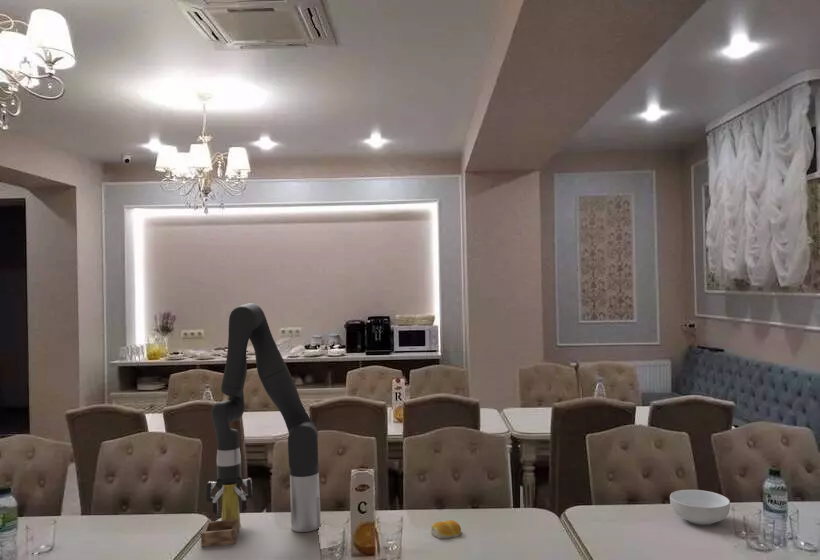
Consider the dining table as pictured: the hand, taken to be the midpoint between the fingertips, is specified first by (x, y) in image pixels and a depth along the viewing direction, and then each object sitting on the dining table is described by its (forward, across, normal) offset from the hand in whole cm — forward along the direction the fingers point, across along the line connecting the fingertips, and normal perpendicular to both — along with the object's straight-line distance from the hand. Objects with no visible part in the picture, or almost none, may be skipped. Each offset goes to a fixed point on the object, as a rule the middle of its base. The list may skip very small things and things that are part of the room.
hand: (230, 512), depth 206 cm
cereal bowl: (+5, -144, +35) cm, 149 cm away
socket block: (+5, +2, +10) cm, 11 cm away
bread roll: (+5, -66, +24) cm, 70 cm away
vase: (+5, 0, 0) cm, 5 cm away
